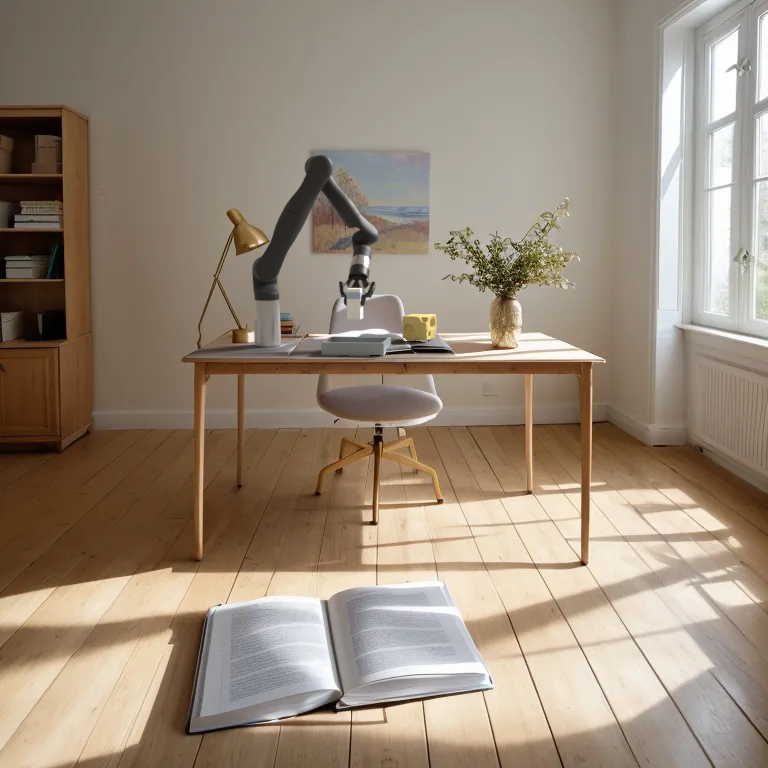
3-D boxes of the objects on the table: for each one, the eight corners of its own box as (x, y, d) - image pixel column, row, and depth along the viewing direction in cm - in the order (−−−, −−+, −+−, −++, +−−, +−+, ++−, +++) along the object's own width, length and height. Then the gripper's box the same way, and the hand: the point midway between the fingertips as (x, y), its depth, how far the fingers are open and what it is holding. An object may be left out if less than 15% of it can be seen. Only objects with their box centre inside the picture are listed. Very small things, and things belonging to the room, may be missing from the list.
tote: (321, 355, 285) (321, 342, 284) (331, 348, 300) (331, 336, 299) (383, 356, 281) (383, 343, 280) (390, 349, 296) (390, 337, 295)
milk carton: (346, 319, 298) (346, 289, 296) (349, 317, 303) (349, 287, 301) (360, 319, 297) (360, 289, 295) (363, 317, 302) (362, 287, 300)
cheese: (426, 343, 311) (426, 316, 310) (400, 341, 316) (400, 315, 314) (437, 339, 321) (437, 314, 319) (411, 338, 325) (411, 313, 323)
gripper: (339, 262, 305) (332, 298, 295) (377, 262, 302) (372, 298, 293) (342, 276, 311) (336, 311, 301) (380, 276, 308) (374, 311, 299)
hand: (354, 304), depth 297 cm, fingers closed on milk carton, 5 cm apart
